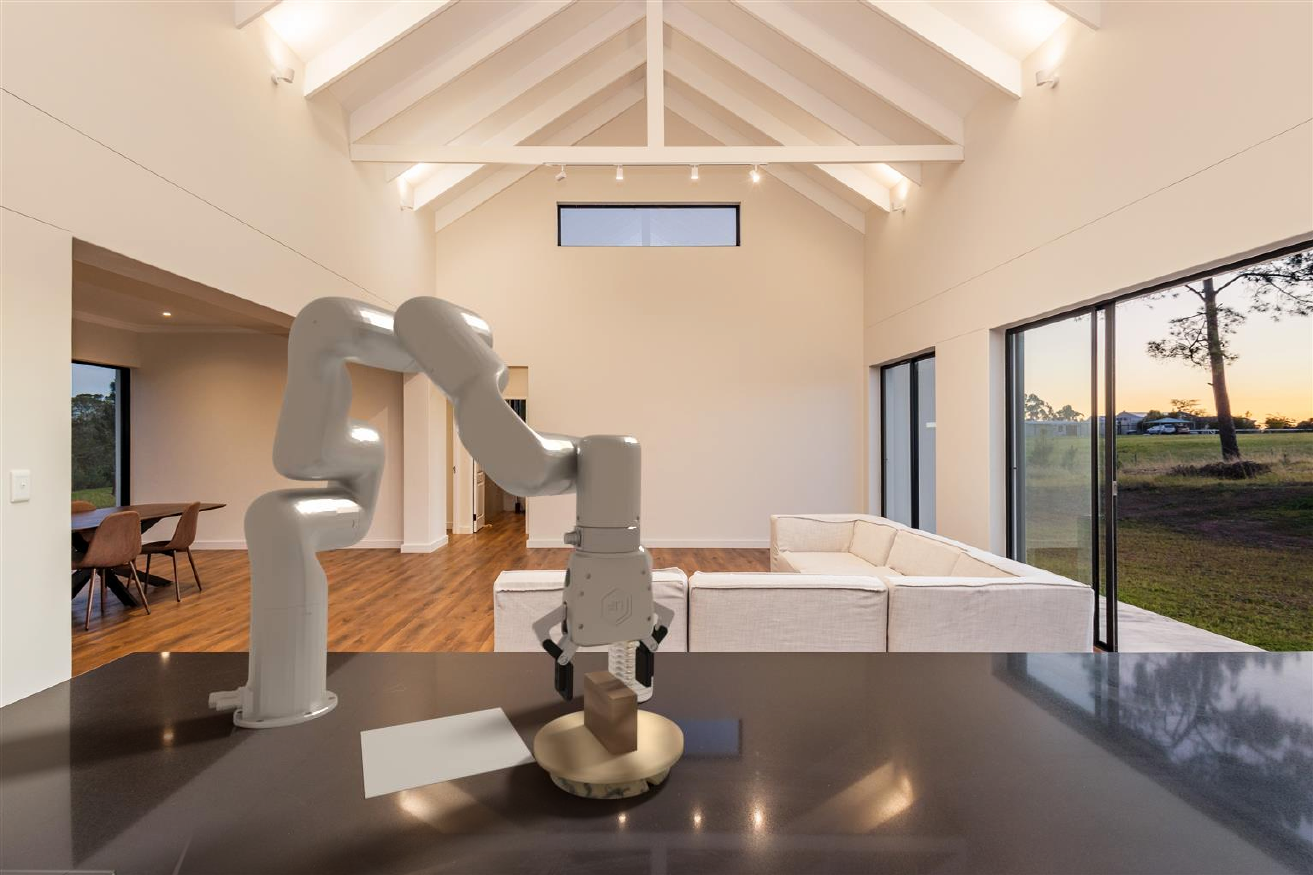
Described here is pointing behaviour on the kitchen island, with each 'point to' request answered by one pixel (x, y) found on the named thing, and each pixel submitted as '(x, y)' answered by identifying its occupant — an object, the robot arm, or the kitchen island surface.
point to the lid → (608, 737)
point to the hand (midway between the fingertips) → (605, 690)
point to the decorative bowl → (608, 787)
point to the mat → (439, 751)
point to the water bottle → (629, 658)
